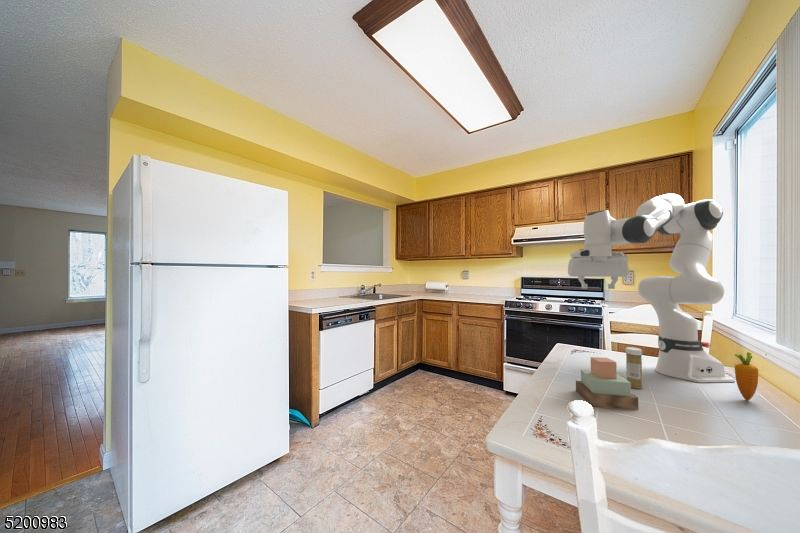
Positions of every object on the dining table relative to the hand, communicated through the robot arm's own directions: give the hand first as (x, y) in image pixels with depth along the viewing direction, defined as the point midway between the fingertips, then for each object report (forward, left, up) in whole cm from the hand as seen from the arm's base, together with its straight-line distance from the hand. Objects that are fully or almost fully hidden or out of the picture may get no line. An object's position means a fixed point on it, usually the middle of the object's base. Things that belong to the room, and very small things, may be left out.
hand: (597, 288), depth 112 cm
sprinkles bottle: (-8, +7, -34) cm, 36 cm away
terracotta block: (+8, +20, -27) cm, 34 cm away
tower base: (+8, +20, -35) cm, 41 cm away
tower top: (+8, +20, -31) cm, 38 cm away
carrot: (-36, +14, -34) cm, 52 cm away
